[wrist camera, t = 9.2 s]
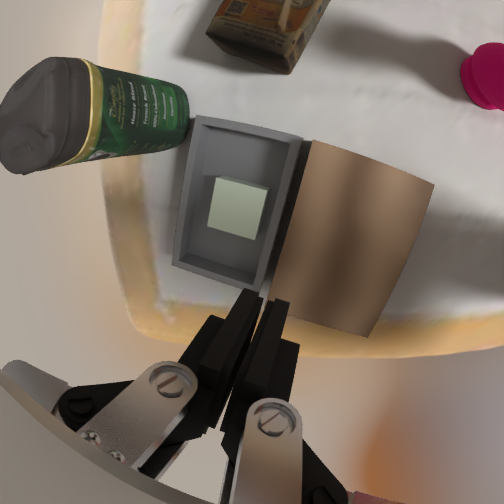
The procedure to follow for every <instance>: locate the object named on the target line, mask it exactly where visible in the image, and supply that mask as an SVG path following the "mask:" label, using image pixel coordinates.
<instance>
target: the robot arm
mask: <svg viewBox="0 0 504 504" xmlns="http://www.w3.org/2000/svg"><path fill="white" fill-rule="evenodd" d="M258 296H259V292H256V291H253V290H250V289H247V288H244V289H243V290H242V292H241V294H240V296H239V297H238V299H237V301H236V302H235V304H234V306H233V307H232V309H231V311H230V312H229V314H228V316H227V317H226V319H222V318H220V317H217V316H214V315H210V316H209V317H208V319H207V320H206V322H205V323H204V325H203V326H202V327H201V329H200V330H199V332H198V333H197V335H196V336H195V338H194V339H193V340H192V342H191V343H190V345H189V346H188V348H187V349H186V351H185V352H184V353H183V355H182V356H181V358H180V359H179V361H178V362H172V361H162V362H159V363H155V364H153V365H152V366H150V367H149V368H148V369H147V370H146V371H144V372H143V373H142V374H141V375H140V376H139V377H138V378H137V379H136V380H131V381H124V382H116V383H107V384H98V385H87V386H77V387H70V386H68V383H67V382H65V381H63V380H61V379H58V378H56V377H54V376H52V375H50V374H48V373H46V372H44V371H42V370H40V369H38V368H36V367H34V366H32V365H30V364H28V363H27V362H24V361H21V360H13V361H11V362H9V363H7V364H6V365H5V366H4V368H3V369H2V370H1V369H0V504H214V503H211V502H208V501H205V500H202V499H199V498H196V497H194V496H191V495H189V494H186V493H183V492H181V491H179V490H176V489H174V488H171V487H169V486H167V485H164V484H163V483H160V482H158V480H159V479H160V478H161V477H162V476H163V474H164V473H165V472H166V471H167V469H168V468H169V467H170V466H171V464H172V463H173V462H174V460H175V459H176V458H177V457H178V456H179V454H180V453H181V452H182V451H183V449H184V448H185V446H186V445H187V444H188V442H189V440H192V439H195V438H199V437H201V436H202V434H206V432H207V429H208V427H211V428H214V429H215V427H216V425H217V423H218V420H219V417H220V416H221V413H222V411H223V409H224V407H225V405H226V402H227V400H228V398H229V395H230V393H231V396H230V399H229V402H228V405H227V409H226V412H225V415H224V418H223V421H222V424H221V427H220V431H222V432H225V434H224V437H223V440H222V443H221V446H222V447H223V449H224V451H225V452H226V454H227V455H228V458H227V462H226V467H225V472H224V477H223V482H222V487H221V493H220V497H219V502H218V504H406V503H401V502H396V501H391V500H387V499H383V498H379V497H375V496H371V495H368V494H364V493H361V492H357V491H355V492H354V493H352V492H349V491H346V490H345V488H344V487H343V485H342V484H341V483H340V482H339V481H338V480H337V479H336V477H335V476H334V475H333V474H332V473H331V472H330V471H329V469H328V468H327V467H326V466H325V465H324V464H323V463H322V461H321V460H320V459H319V458H318V457H317V455H316V454H315V453H314V452H313V451H312V450H311V448H310V447H309V446H308V445H307V443H306V442H305V441H304V440H303V438H302V419H301V416H300V414H299V412H298V411H297V409H296V408H295V407H293V406H292V405H291V404H289V403H288V402H289V397H290V393H291V388H292V383H293V378H294V374H295V368H296V363H297V358H298V353H299V347H300V344H298V343H294V342H291V341H288V340H285V339H282V338H281V335H282V332H283V328H284V324H285V320H286V317H287V313H288V309H289V305H290V302H287V301H284V300H281V299H278V298H275V300H274V301H270V300H268V302H267V304H266V307H265V309H264V312H263V314H262V317H261V319H260V322H259V324H258V326H257V329H256V331H255V334H254V336H253V333H254V329H255V326H256V323H257V320H258V316H259V313H260V310H261V306H262V303H263V299H264V298H261V297H258ZM252 336H253V339H252ZM251 339H252V341H251ZM250 342H251V343H250ZM231 391H232V392H231Z"/></svg>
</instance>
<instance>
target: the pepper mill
mask: <svg viewBox="0 0 504 504" xmlns="http://www.w3.org/2000/svg"><path fill="white" fill-rule="evenodd" d="M461 79H462V83H463V86H464V88H465V90H466V92H467V94H468V95H469V96H470V98H471V99H472V100H473V101H474V102H475V103H476V104H477V105H479V106H480V107H482V108H484V109H487V110H493V109H500V110H502V111H504V44H502V43H494V42H493V43H486V44H483V45H480V46H479V47H478V48H477V49H476V50H475V52H474V54H473V55H472V56H470V57H468V58H467V59H465V60H464V61H463V63H462V66H461Z"/></svg>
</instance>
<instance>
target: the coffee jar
mask: <svg viewBox="0 0 504 504" xmlns="http://www.w3.org/2000/svg"><path fill="white" fill-rule="evenodd" d="M189 113H190V112H189V103H188V98H187V95H186V93H185V91H184V90H183V89H182V88H181V87H180V86H178V85H175V84H172V83H169V82H166V81H162V80H158V79H153V78H149V77H144V76H140V75H136V74H132V73H127V72H123V71H118V70H113V69H108V68H104V67H100V66H97V65H95V64H93V63H91V62H89V61H87V60H84V59H81V58H68V57H67V58H66V57H49V58H46V59H44V60H43V61H41V62H40V63H38V64H37V65H35V66H34V67H32V68H31V69H30V70H28V71H27V72H26V73H25V74H24V75H23V76H22V77H20V79H18V80H17V81H16V82H15V83H14V84H13V86H12V87H11V88H10V90H9V91H8V92H7V94H6V96H5V98H4V99H3V101H2V103H1V105H0V161H1V163H2V164H3V165H4V167H5V168H6V169H7V170H8V171H10V172H11V173H14V174H22V175H26V174H29V173H32V172H35V171H42V170H47V169H51V168H55V167H60V166H64V165H70V164H74V163H81V162H86V161H93V160H99V159H106V158H113V157H120V156H129V155H139V154H147V153H154V152H160V151H164V150H168V149H171V148H174V147H176V146H178V145H179V144H180V143H181V142H182V141H183V140H184V139H185V137H186V135H187V132H188V129H189V121H190V118H189Z"/></svg>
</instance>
